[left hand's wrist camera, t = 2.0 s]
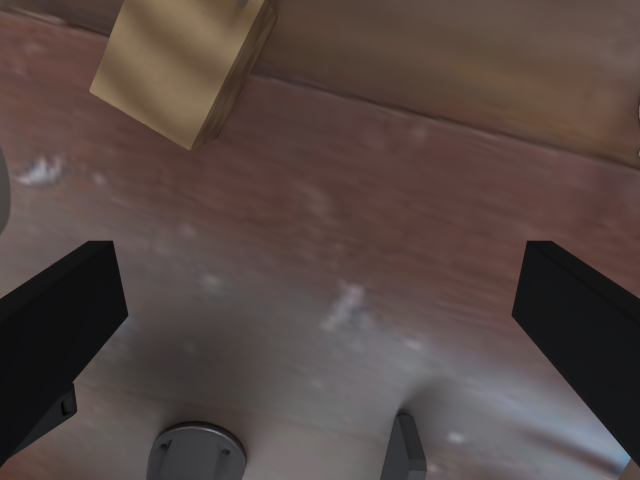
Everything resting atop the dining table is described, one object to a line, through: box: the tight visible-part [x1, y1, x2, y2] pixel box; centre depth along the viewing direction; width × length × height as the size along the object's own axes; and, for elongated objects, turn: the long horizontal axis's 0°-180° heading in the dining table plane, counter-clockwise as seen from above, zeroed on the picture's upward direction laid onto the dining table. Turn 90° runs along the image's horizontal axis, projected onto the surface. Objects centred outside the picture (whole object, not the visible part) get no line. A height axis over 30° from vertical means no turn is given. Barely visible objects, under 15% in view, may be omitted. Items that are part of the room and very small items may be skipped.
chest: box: [194, 1, 277, 149], centre depth 38 cm, size 15×10×9 cm
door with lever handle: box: [89, 0, 268, 151], centre depth 30 cm, size 16×10×9 cm, turn 148°
